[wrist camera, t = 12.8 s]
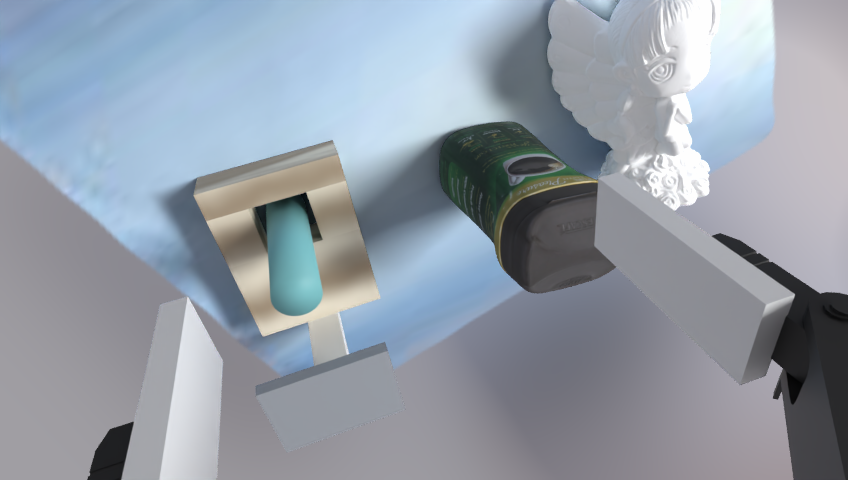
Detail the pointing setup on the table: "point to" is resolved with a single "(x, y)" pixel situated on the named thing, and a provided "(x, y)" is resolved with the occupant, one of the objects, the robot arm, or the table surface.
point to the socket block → (332, 234)
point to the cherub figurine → (637, 86)
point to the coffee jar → (525, 205)
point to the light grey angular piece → (331, 389)
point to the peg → (292, 258)
